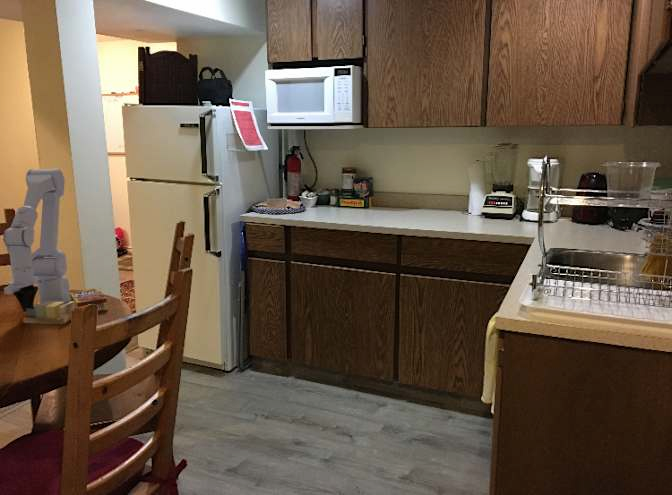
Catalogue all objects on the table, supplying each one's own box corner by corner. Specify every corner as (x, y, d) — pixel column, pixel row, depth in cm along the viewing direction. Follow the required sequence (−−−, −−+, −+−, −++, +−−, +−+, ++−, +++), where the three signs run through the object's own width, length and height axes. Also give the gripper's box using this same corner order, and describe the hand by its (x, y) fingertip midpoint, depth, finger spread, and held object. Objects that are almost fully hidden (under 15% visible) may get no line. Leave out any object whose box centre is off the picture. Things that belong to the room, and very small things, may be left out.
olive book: (47, 316, 177) (45, 300, 176) (56, 317, 176) (54, 301, 175) (36, 321, 172) (34, 305, 171) (45, 322, 171) (43, 306, 170)
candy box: (76, 301, 177) (68, 291, 189) (77, 315, 177) (70, 304, 190) (106, 296, 181) (97, 287, 194) (108, 309, 182) (98, 299, 195)
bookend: (38, 316, 177) (37, 303, 176) (47, 316, 177) (45, 304, 176) (27, 321, 172) (25, 308, 171) (36, 321, 172) (35, 309, 171)
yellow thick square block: (57, 317, 176) (55, 301, 175) (66, 317, 176) (64, 301, 175) (46, 322, 171) (44, 306, 170) (55, 322, 171) (54, 306, 170)
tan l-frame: (38, 315, 178) (36, 300, 177) (76, 317, 176) (74, 301, 175) (23, 322, 171) (21, 306, 170) (62, 324, 169) (60, 307, 168)
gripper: (17, 273, 164) (23, 319, 167) (50, 262, 178) (55, 304, 181) (-5, 272, 165) (1, 318, 168) (29, 261, 179) (34, 303, 182)
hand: (27, 311), depth 174 cm, fingers closed, pressing on bookend
